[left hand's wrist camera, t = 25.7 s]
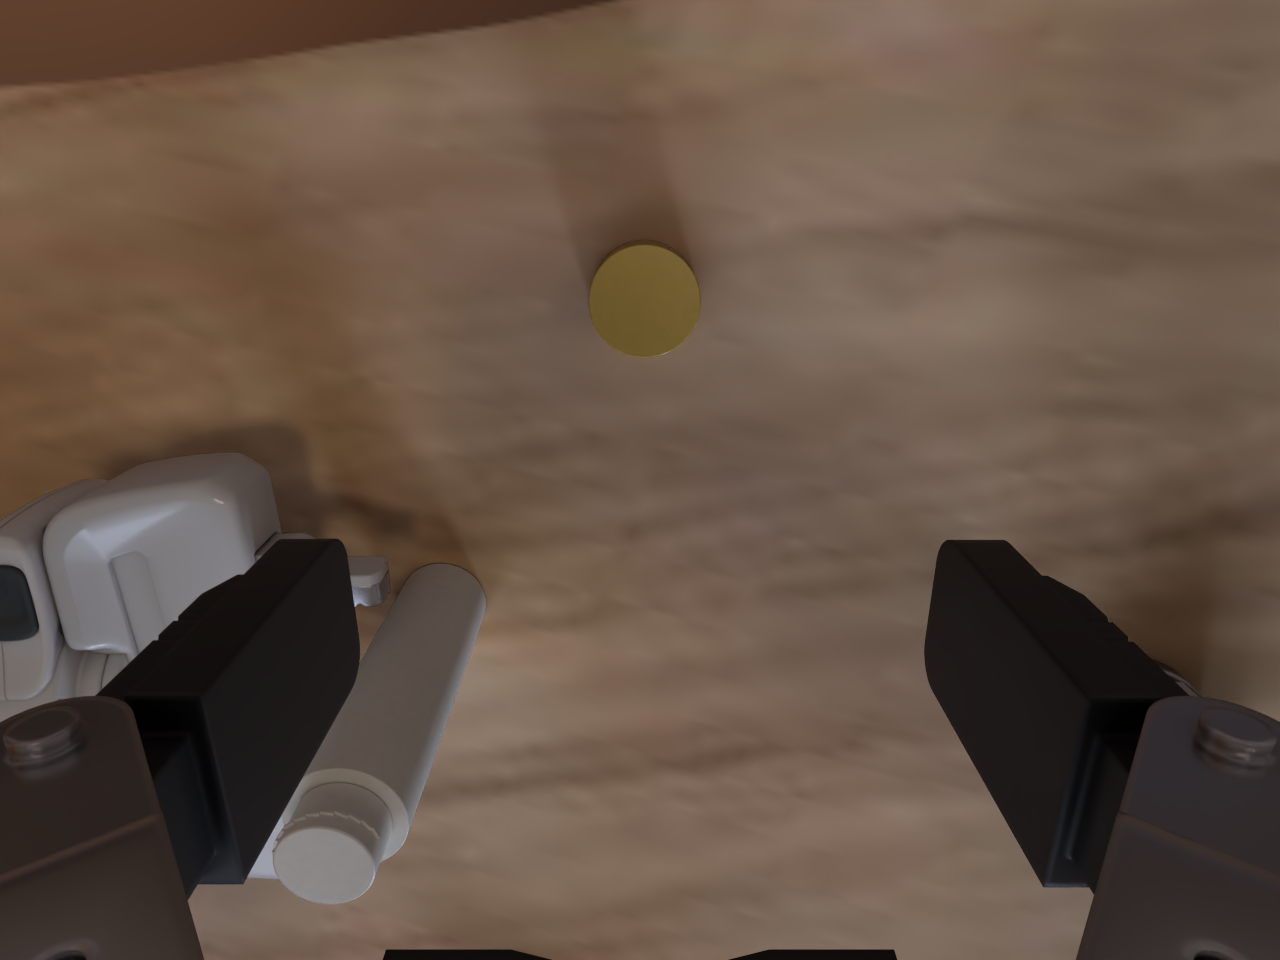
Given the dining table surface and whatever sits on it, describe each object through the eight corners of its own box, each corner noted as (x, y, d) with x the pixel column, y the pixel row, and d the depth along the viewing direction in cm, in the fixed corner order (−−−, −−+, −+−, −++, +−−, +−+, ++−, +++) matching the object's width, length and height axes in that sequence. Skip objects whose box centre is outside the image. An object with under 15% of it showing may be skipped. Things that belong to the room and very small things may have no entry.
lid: (644, 368, 38) (645, 380, 35) (569, 295, 36) (565, 303, 34) (718, 294, 36) (723, 301, 34) (643, 216, 35) (644, 219, 33)
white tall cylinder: (428, 547, 41) (291, 792, 25) (502, 591, 42) (416, 854, 26) (386, 609, 42) (232, 880, 26) (459, 651, 43) (352, 936, 27)
